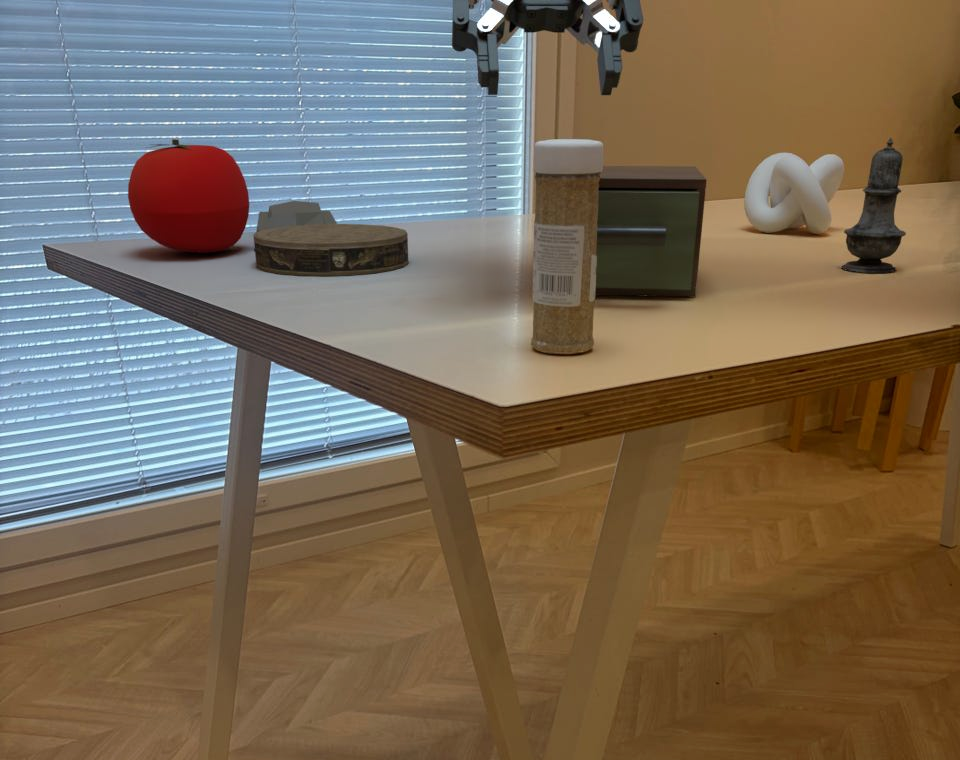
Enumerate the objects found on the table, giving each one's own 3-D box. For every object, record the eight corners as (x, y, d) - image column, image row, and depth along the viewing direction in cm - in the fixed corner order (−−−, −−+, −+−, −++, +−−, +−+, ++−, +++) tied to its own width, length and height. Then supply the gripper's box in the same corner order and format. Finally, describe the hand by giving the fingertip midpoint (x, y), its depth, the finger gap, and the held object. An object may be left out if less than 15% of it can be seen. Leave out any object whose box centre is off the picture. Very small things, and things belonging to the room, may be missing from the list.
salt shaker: (872, 275, 101) (896, 140, 95) (825, 267, 105) (845, 137, 100) (911, 270, 104) (936, 138, 98) (864, 262, 108) (885, 136, 102)
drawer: (693, 300, 85) (703, 198, 81) (556, 297, 86) (559, 196, 82) (682, 265, 101) (690, 179, 97) (566, 263, 102) (569, 178, 98)
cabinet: (695, 297, 91) (706, 179, 86) (553, 294, 92) (556, 177, 88) (686, 271, 104) (696, 166, 99) (561, 268, 105) (565, 165, 100)
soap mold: (254, 250, 116) (250, 217, 114) (256, 229, 133) (253, 199, 132) (345, 248, 118) (343, 215, 116) (336, 227, 135) (334, 198, 133)
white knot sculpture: (730, 234, 128) (738, 155, 124) (751, 224, 138) (760, 150, 133) (823, 239, 124) (835, 157, 120) (838, 228, 133) (850, 152, 129)
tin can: (247, 256, 112) (244, 227, 111) (388, 249, 117) (387, 221, 115) (267, 279, 99) (263, 246, 98) (425, 271, 103) (425, 239, 102)
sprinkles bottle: (606, 347, 74) (617, 139, 67) (568, 359, 71) (577, 142, 64) (554, 338, 76) (561, 137, 70) (516, 349, 73) (519, 140, 67)
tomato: (280, 251, 115) (270, 138, 110) (173, 266, 107) (156, 143, 101) (218, 241, 123) (205, 135, 117) (112, 254, 114) (94, 140, 109)
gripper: (447, -130, 76) (456, 43, 72) (636, -128, 77) (657, 44, 73) (445, -38, 83) (453, 125, 79) (618, -36, 84) (636, 125, 80)
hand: (551, 86), depth 76 cm, fingers open, 8 cm apart
